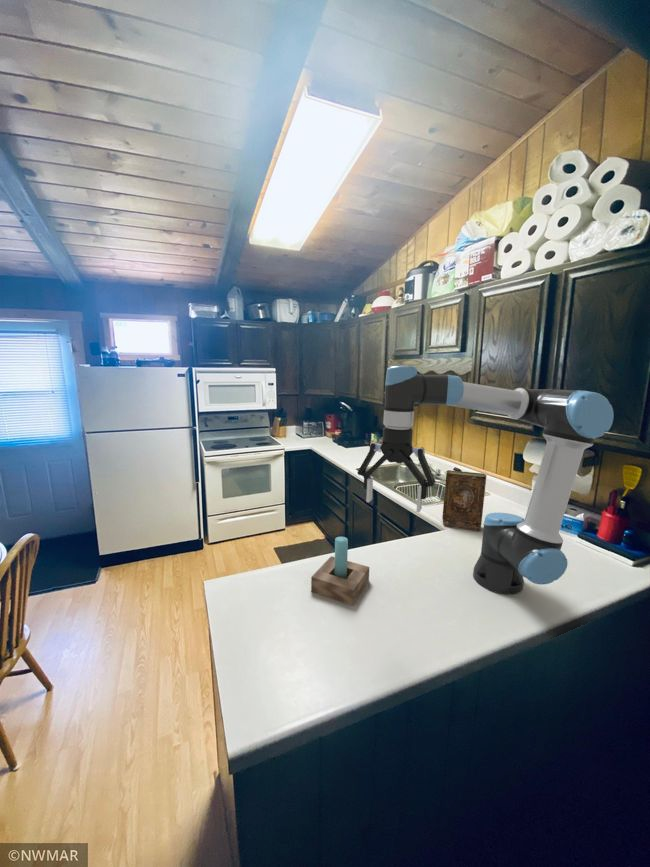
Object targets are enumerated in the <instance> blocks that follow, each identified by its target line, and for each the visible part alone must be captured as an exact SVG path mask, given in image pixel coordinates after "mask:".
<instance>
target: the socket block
mask: <svg viewBox="0 0 650 867" xmlns="http://www.w3.org/2000/svg"><path fill="white" fill-rule="evenodd" d="M334 570H335V556H330V557H328V558H327V560H326V561H325V562H324V563H323V564H322V565H321V566H320V567H319V568H318V569H317V570H316V571H315V573H314V574H312V575H311V577H310V578H311V580H310V581H311V582H310V583H311V584H310V586H311V587H310V592H312V593H315V594H316V595H317V594H318V595H321V596H324V597H326V598H329V599H332V600H335V601H338V602H341V603H344V604H347V605H349V606H354V605H355V603H356V601H357V600H358V598H359V597H360V595H361V594H362V592H363V591H364V589H365V587H366V586H367V584H368V583H369V581H370V566H368V565H363V564H361V563H356V562H353V561H351V560H350V561H349V560H347V579H344V578H340V577H337V576H334Z"/></svg>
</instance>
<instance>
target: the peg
mask: <svg viewBox="0 0 650 867" xmlns="http://www.w3.org/2000/svg"><path fill="white" fill-rule="evenodd" d="M348 545H349V540H348V538H347V537H345V536H337V537H335V539H334V557H335V570H334V576H337V577H340V578H344V579H347V561H348V556H349V554H348V552H349V551H348V550H349V546H348Z"/></svg>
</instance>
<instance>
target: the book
mask: <svg viewBox="0 0 650 867" xmlns="http://www.w3.org/2000/svg"><path fill="white" fill-rule="evenodd" d="M445 473H446V476H445V483H444V485H445V486H444V496H443V507H442V519H441V520H442V525H443V526H444V527H448V528H451V529H452V528H453V529H461V530H468V531H476V532H480V531H481V530H482V524H483V523H482V522H483V512H484V504H485V494H486V493H485V492H486V485H487V483H486V482H487V475H486V474H485V473H480V472H472V471H471V472H470V471H460V470H446V472H445Z"/></svg>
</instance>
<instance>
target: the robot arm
mask: <svg viewBox="0 0 650 867" xmlns="http://www.w3.org/2000/svg"><path fill="white" fill-rule="evenodd" d="M417 370H418V369H417V367H416V366H410V365H392V366H389V367H388V368H387V369H386V375H385V382H384V385H385V386H384V407H383V408H384V409H383V420H382V422H383V423H382V424H383V426H384V427H383V428H382V442H381V444H380V443H377V441H374V442H372V443H370V445H369V451H368V452H367V455H366V457H365V458H364V460H363V462H362V463H361V465H360V467H359V469H358V470H357V475H358V476H362V477H363V489H364V490H366V498H365V500H366V503H370V502H371V501H372V500H373V488H374V477H373V476H371V475H373V474H374V473H375V472H376V470H378V468H379V467H380V466H382V465H383V464H384V463H385V462H386V461H387V462H389V463H396V464H399V465H402V464H404V465H405V466H406V467H407V468H408V470H409V472H411V474H412V475H413V476H414V478H415V479H416V481H417V482H418V483H419V485H418V487H417V500H416V512H417V513H420V512H421V510H422V508H423V507H422V505H423V500H426V498H427V496H428V487H434V485H435V484H436V480H435V477H434V475H433V472H432V469H431V468H430V465H429V463H428V460H427V458H426V454H425V448H424V447H423V446H422V447H418V448H417V447H416V448H415V447H413V436H414V435H413V433H414V432H413V431H414V430H413V428H412V427H413V426H414V417H415V405H441V406H442V405H444V406H449V407H450V406H451V407H456V408H461V409H469V410H474V411H475V410H476V411H481V412H487V413H494V414H500V415H505V416H508V417H509V418H510V419H512V420H517V421H522V422H526V423H528V424H531V425H535V426H538V427H540V428H543V431H542V436H543V438H544V439H545V441H546V445H545V448H544V451H543V455H542V458H541V462H540V465H539V468H538V472H537V475H536V479H535V482H534V484H533V490H532V493H531V496H530V499H529V504H528V507H527V510H526V513H525V517H522V516H520V515H517V514H514V513H513V514H512V513H507V512H491V513H488V514H487V515H485V516H484V521H483V523H482V524H483V530H482V540H481V548H480V549H481V551H480V554H479V557H478V559H477V561H476V563H475V564H474V567H473V569H472V570H473V572H472V577H473V579H474V580H475V582H476V583H478V585H481V587H483V588H485V589H487V590H489V591H491V592H495V593H497V594H503V595H516V594H520V593H521V592H523V590H524V586H525V585H524V584H525V579H527V580H528V581H529V582H531V583H533V584H535V585H548V584H551V583H553V582H555V581H558V580H559V579H561V577H563V575H564V574H565V572H567V571H566V570H567V568H568V563H569V562H568V558H567V557H566V555H565V553H564V552H563V551H562V546H563V543H564V539H563V537H562V535H561V533H560V530H561V526H562V523H563V520H564V517H565V514H566V510H567V506H568V503H569V500H570V497H571V493H572V490H573V487H574V484H575V482H576V477H577V474H578V471H579V467H580V464H581V461H582V458H583V454H584V451H586V449H588V448H591V447H592V446H593V445H594V443H595V440H596V439H597V438H600V437H603V436H604V435H605V433H607V432H609V431H610V429H611V427H612V425H613V421H614V417H615V416H614V409H613V406H612V404H611V403H610V401H609V400H608V398H606V397H605V396H604V395H602V394H601V393H598V392H594V391H587V390H582V389H579V390H577V389H576V390H575V389H558V388H549V389H548V388H547V389H545V388H543V389H537V388H536V389H534V388H533V389H531V388H524V387H517V388H515V389H509V388H502V387H496V386H490V385H486V384H485V385H484V384H478V383H472V382H466V381H463V379H462V378H461V377H460V376H458V375H451V374H420V373H419V374H418V371H417ZM379 450H380V451H381V453H382V454H383V455H382V456H381V457H380V458H379V459H378V460H377V461H376V462H375V463H374V464H373V465H372V466H371V467H370V468H369V469H368V467H369V465H370V463H371V462H372V460H373V458H374V457H375V454H376V453H377V452H378V451H379ZM412 454H414V455H415V457H416V458H417V460H418V462H419V465H420V467H421V469H422V472H423V473H422V472H421V471H420V469H419V468H418V466H417V465H416V464H415V463H414V460H413V458H411V456H412ZM366 470H367V471H366ZM423 474H424V475H423ZM524 578H525V579H524Z"/></svg>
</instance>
